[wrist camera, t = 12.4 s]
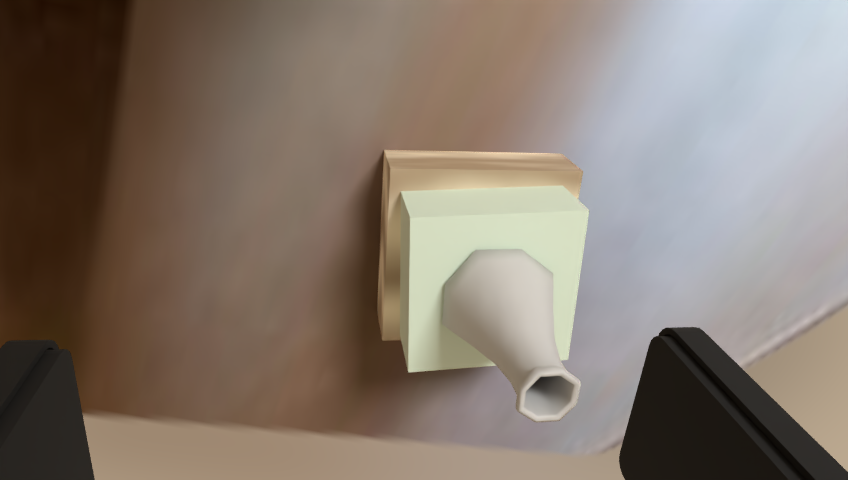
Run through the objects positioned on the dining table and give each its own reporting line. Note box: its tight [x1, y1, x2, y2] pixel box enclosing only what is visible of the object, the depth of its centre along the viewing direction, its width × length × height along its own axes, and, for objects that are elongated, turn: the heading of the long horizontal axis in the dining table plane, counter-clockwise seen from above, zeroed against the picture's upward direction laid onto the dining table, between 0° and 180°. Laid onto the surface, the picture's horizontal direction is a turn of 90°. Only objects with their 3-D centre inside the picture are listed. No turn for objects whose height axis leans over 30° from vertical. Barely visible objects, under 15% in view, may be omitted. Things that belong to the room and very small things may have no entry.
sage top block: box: [400, 186, 589, 372], centre depth 41 cm, size 11×11×4 cm
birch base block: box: [377, 150, 583, 341], centre depth 45 cm, size 13×13×4 cm
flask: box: [442, 249, 581, 422], centre depth 35 cm, size 7×7×10 cm
